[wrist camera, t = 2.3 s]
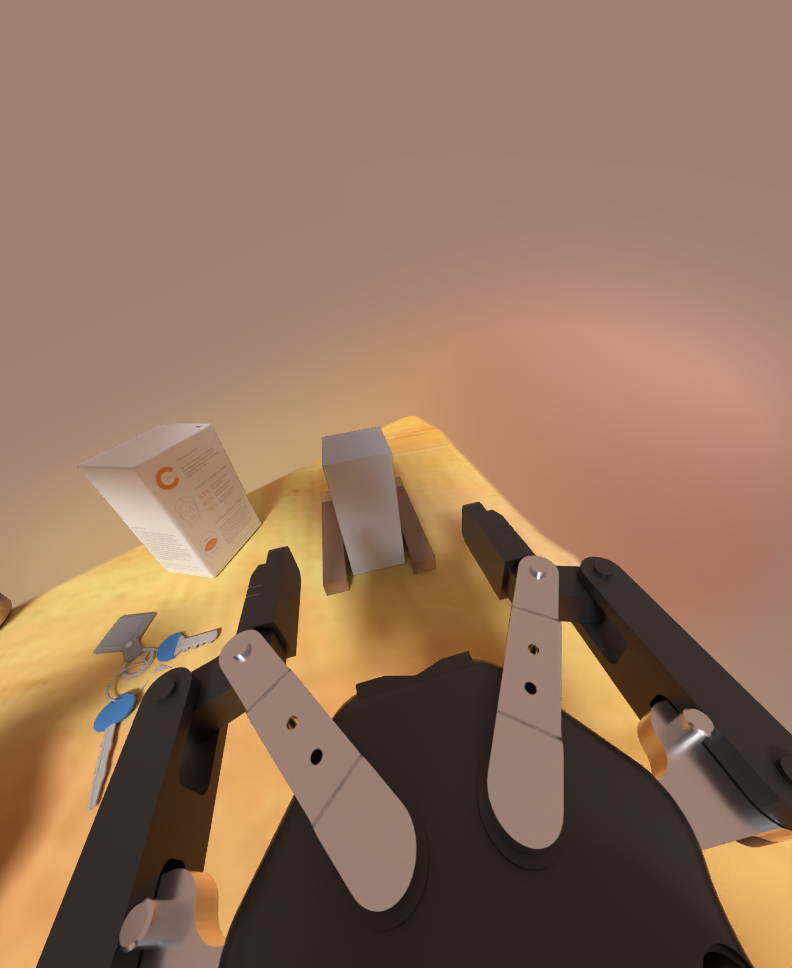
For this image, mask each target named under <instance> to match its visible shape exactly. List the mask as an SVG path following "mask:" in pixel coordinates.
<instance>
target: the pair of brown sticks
mask: <svg viewBox="0 0 792 968" xmlns="http://www.w3.org/2000/svg"><path fill="white" fill-rule="evenodd" d="M395 484H396V492H397V500H398V508H399V516H400V524H401V532H402V538H403V541H404V544H405V547H406V550H407V553H408V556H409V559H410V562H411V565H412V568H413V571H414V574H416V573H420V572H424V571H428V570H432V569H435V557H434V554H433V552H432V550H431V547H430V545H429V543H428V541H427V538H426V536H425V534H424V531H423V529H422V527H421V525H420V522H419V520H418V518H417V515H416V513H415V511H414V509H413V506H412V504H411V502H410V499H409V497H408V495H407V493H406V490H405V488H404V486H403V483H402V481H401V479H400V477H398V478H395ZM322 547H323V586H324V589H325V592H326V594H327V596H328V595H332V594H336V593H340V592H344V591H348V590H349V580H348V570H347V560H346V550H345V544H344V540H343V537H342V533H341V530H340V526H339V523H338V519H337V516H336V512H335V509H334V505H333V501H332V498H331V494H330V492H325V493H322Z"/></svg>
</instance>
